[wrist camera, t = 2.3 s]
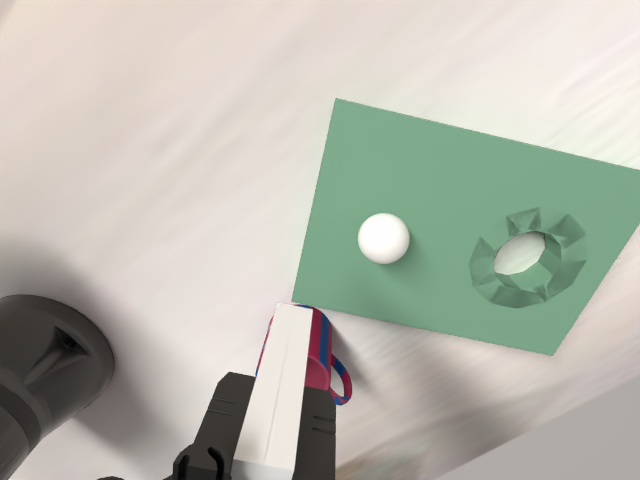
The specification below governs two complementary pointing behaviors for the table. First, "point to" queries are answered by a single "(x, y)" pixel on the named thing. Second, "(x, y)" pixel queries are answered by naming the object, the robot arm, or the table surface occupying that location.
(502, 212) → the green
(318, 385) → the mug
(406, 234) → the ball
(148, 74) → the table surface
